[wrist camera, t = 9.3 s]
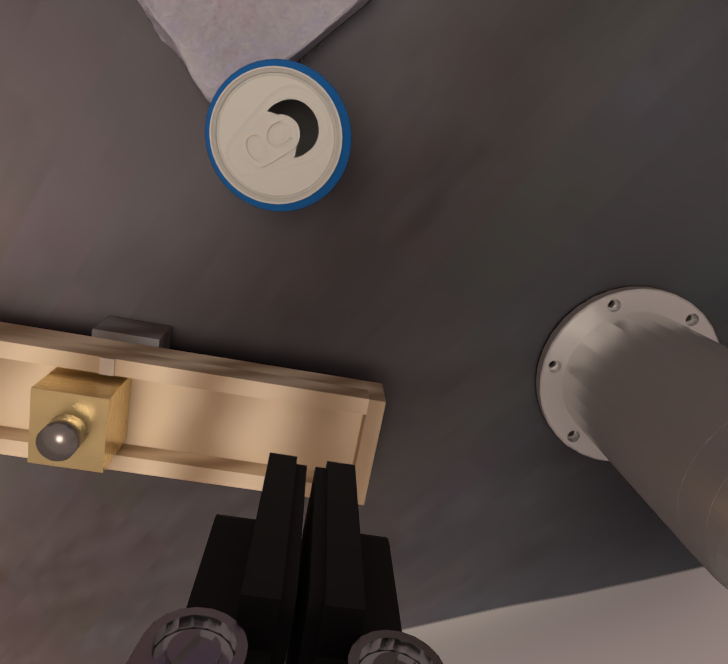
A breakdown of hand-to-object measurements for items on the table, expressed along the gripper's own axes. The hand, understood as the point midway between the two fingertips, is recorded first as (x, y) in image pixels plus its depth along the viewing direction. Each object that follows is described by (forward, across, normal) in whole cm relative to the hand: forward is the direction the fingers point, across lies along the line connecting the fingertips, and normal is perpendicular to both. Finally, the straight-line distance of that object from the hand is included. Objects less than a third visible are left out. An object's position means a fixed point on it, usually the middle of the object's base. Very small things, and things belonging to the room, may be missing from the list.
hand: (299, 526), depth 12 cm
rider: (+25, +12, +10) cm, 29 cm away
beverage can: (+29, +3, -7) cm, 30 cm away
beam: (+29, +11, +10) cm, 33 cm away
